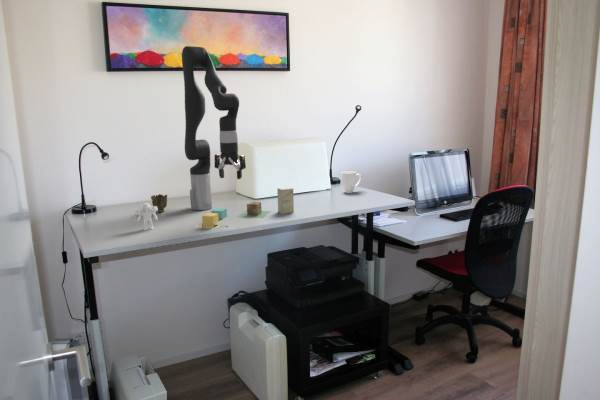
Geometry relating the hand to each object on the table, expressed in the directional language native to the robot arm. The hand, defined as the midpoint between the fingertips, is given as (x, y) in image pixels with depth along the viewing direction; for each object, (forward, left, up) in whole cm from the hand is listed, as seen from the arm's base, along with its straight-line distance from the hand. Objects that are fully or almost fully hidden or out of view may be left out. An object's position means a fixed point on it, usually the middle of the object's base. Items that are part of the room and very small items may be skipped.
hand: (230, 178), depth 206 cm
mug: (+43, +65, -18) cm, 80 cm away
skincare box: (+21, +11, -18) cm, 30 cm away
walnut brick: (+8, +5, -17) cm, 19 cm away
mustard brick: (-5, -13, -18) cm, 23 cm away
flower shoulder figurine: (-29, -22, -18) cm, 40 cm away
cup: (-40, +6, -18) cm, 44 cm away
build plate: (+8, +5, -18) cm, 21 cm away
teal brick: (-5, -4, -18) cm, 19 cm away
